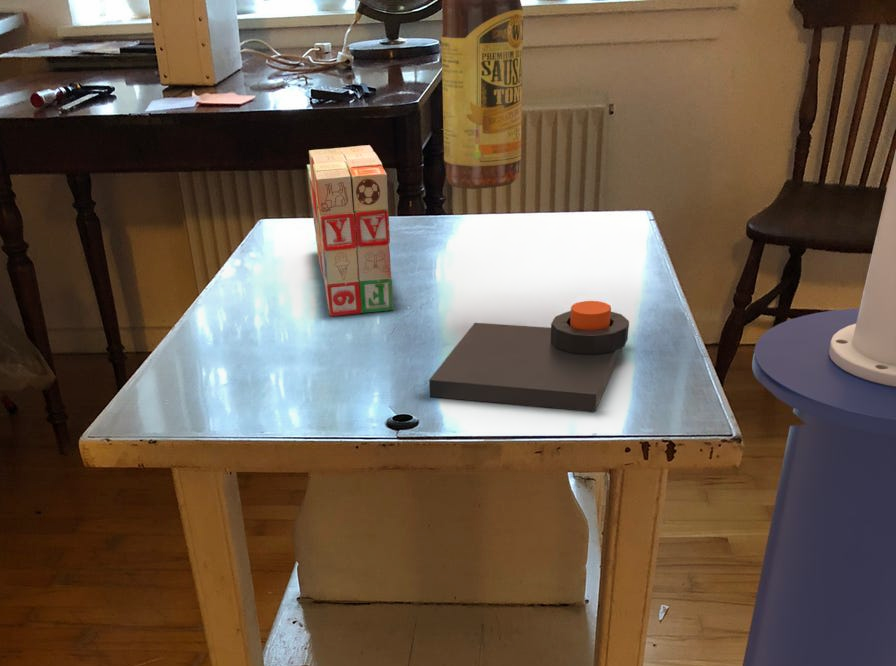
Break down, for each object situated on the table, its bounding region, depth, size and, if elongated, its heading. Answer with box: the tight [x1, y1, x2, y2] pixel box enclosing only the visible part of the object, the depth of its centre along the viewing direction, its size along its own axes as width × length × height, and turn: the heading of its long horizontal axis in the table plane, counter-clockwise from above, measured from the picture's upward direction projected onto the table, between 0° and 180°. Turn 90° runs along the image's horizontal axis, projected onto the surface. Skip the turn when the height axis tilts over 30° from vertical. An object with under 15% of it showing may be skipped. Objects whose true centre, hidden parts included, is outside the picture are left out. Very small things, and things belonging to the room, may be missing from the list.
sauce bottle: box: [441, 0, 524, 190], centre depth 74 cm, size 7×6×20 cm
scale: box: [428, 310, 630, 412], centre depth 79 cm, size 14×14×3 cm
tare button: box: [570, 300, 612, 330], centre depth 79 cm, size 3×3×2 cm
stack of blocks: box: [306, 144, 394, 317], centre depth 97 cm, size 21×6×12 cm, turn 8°
